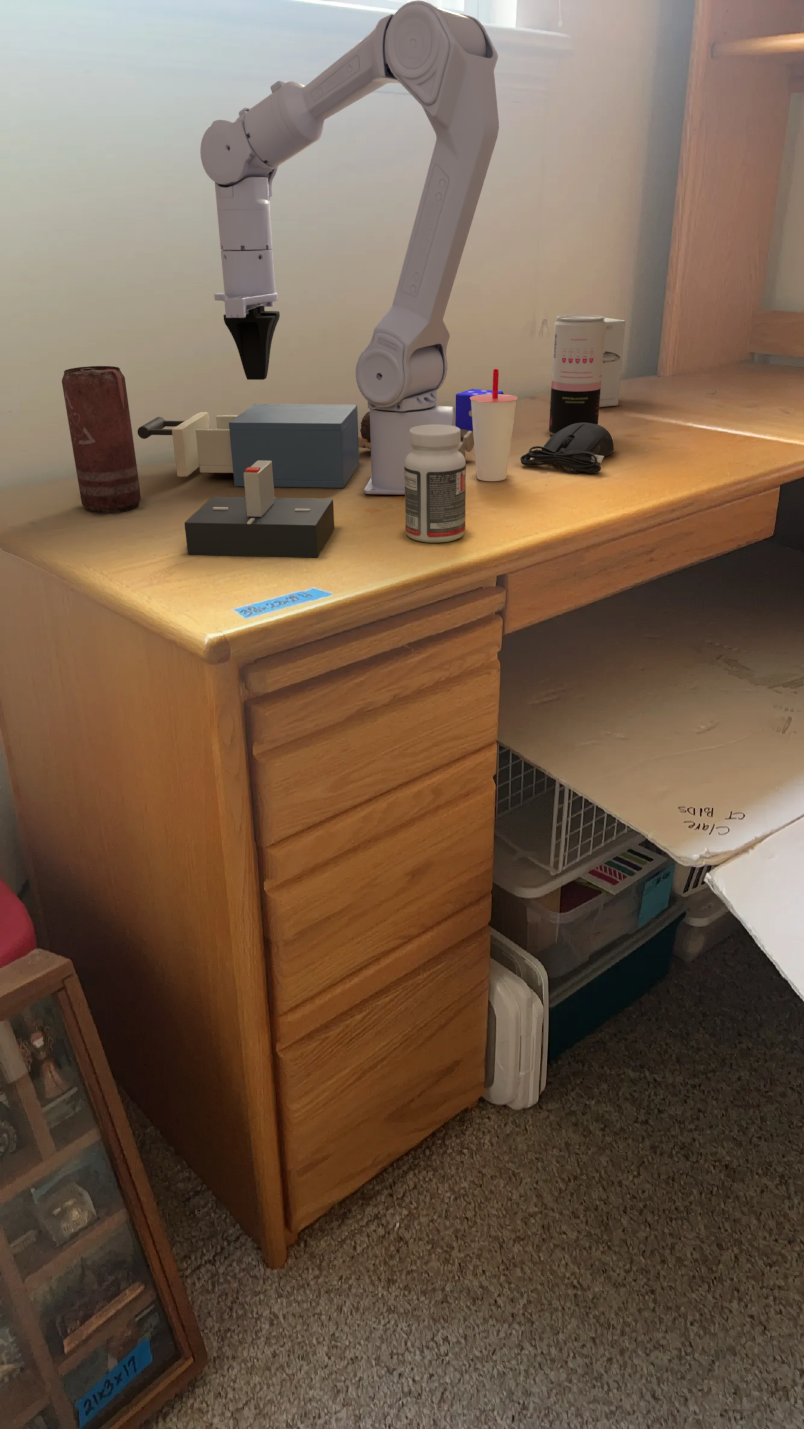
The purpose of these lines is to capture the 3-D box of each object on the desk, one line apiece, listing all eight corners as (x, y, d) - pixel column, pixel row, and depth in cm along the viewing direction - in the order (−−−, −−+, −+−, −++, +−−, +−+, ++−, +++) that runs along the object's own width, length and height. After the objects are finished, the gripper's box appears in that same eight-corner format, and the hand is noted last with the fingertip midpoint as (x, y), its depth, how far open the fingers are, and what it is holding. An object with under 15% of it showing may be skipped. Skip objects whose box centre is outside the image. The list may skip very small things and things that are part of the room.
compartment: (234, 486, 112) (228, 422, 108) (258, 462, 122) (254, 403, 119) (343, 488, 110) (341, 423, 107) (359, 464, 121) (357, 404, 117)
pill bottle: (472, 529, 95) (474, 424, 91) (455, 546, 91) (457, 437, 86) (415, 524, 97) (415, 421, 93) (396, 541, 92) (395, 433, 88)
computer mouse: (636, 451, 125) (639, 420, 123) (596, 476, 114) (599, 442, 112) (561, 444, 129) (563, 414, 128) (516, 467, 118) (517, 434, 116)
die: (454, 430, 138) (455, 393, 136) (471, 424, 142) (471, 388, 139) (486, 433, 136) (487, 396, 133) (502, 427, 139) (503, 390, 137)
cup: (510, 484, 111) (514, 373, 105) (463, 482, 112) (465, 371, 106) (518, 473, 115) (522, 365, 110) (473, 471, 117) (475, 364, 111)
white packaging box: (580, 410, 150) (586, 322, 144) (553, 403, 156) (557, 317, 150) (619, 406, 153) (627, 319, 147) (591, 399, 159) (597, 315, 153)
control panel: (334, 528, 96) (333, 496, 95) (317, 558, 88) (315, 523, 87) (215, 526, 98) (212, 494, 96) (187, 555, 89) (183, 521, 88)
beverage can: (553, 428, 138) (559, 314, 132) (600, 430, 136) (609, 314, 130) (544, 437, 133) (550, 318, 126) (593, 440, 131) (602, 319, 124)
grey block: (260, 502, 94) (257, 457, 92) (275, 502, 94) (271, 457, 92) (247, 516, 89) (242, 470, 87) (262, 517, 89) (258, 470, 87)
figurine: (481, 468, 126) (381, 448, 132) (488, 425, 124) (387, 407, 130) (454, 470, 119) (350, 449, 125) (461, 425, 117) (355, 406, 123)
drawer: (135, 475, 113) (129, 428, 111) (165, 455, 122) (159, 411, 120) (275, 477, 111) (272, 430, 109) (294, 457, 120) (291, 412, 118)
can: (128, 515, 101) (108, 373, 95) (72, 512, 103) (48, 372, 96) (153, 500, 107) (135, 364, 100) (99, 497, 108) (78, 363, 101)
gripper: (229, 247, 115) (239, 369, 121) (191, 252, 102) (205, 388, 108) (288, 247, 114) (295, 369, 121) (258, 252, 102) (268, 388, 108)
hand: (256, 378), depth 114 cm, fingers closed
